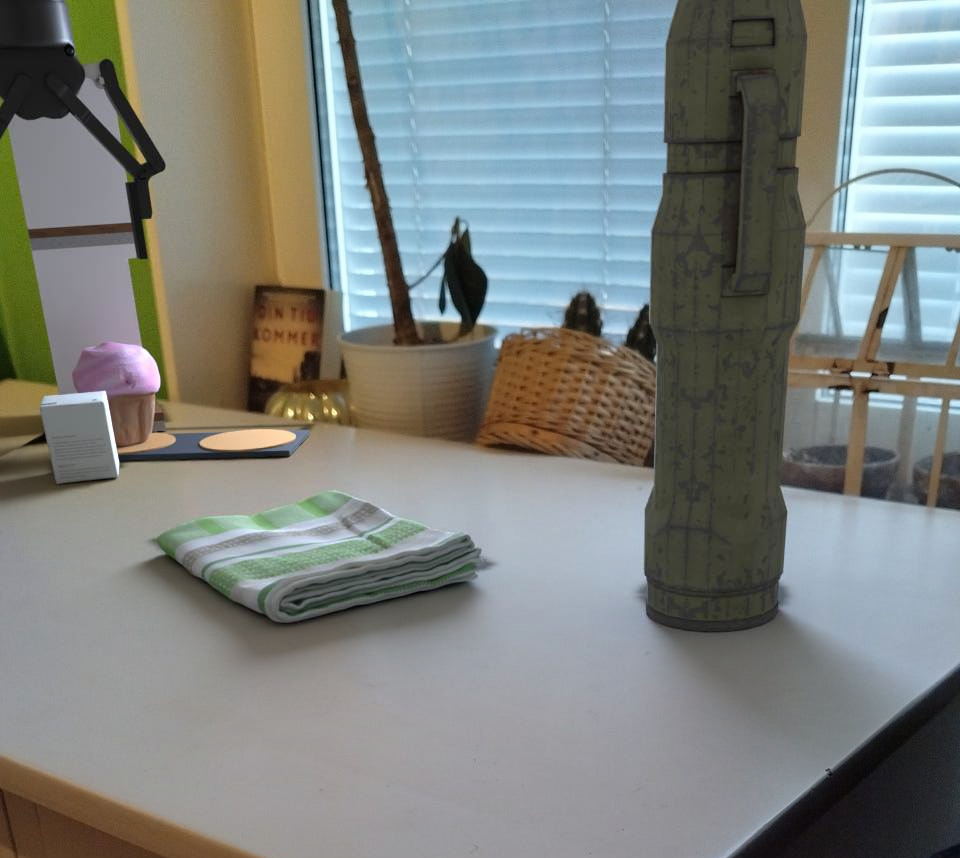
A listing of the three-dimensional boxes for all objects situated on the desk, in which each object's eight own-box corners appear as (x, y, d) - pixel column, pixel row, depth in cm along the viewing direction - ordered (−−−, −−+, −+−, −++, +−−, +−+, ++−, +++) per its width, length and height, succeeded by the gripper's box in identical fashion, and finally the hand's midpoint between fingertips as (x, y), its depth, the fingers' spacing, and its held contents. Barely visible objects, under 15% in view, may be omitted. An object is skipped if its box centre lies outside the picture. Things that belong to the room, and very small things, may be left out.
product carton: (120, 465, 133) (107, 389, 129) (118, 478, 128) (105, 400, 124) (58, 471, 132) (43, 394, 128) (54, 484, 127) (38, 405, 123)
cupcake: (73, 442, 140) (54, 342, 135) (150, 429, 144) (134, 332, 139) (104, 455, 133) (85, 351, 129) (183, 441, 138) (168, 340, 133)
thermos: (681, 647, 81) (703, -37, 64) (618, 591, 91) (622, -13, 74) (814, 629, 82) (870, -42, 65) (737, 576, 93) (768, -17, 76)
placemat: (61, 462, 135) (59, 454, 135) (94, 441, 144) (93, 433, 144) (289, 456, 133) (289, 448, 133) (309, 435, 142) (308, 427, 141)
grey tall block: (166, 431, 147) (109, 67, 130) (68, 441, 145) (-3, 71, 127) (156, 413, 157) (102, 72, 140) (64, 422, 154) (-2, 76, 137)
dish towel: (271, 632, 87) (264, 580, 85) (151, 554, 104) (144, 510, 102) (490, 580, 94) (488, 531, 92) (345, 516, 112) (341, 474, 110)
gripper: (-134, -4, 108) (-70, 277, 118) (172, -10, 114) (207, 256, 125) (-129, 4, 114) (-69, 270, 124) (161, -2, 121) (195, 251, 131)
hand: (69, 264), depth 125 cm, fingers open, 13 cm apart
